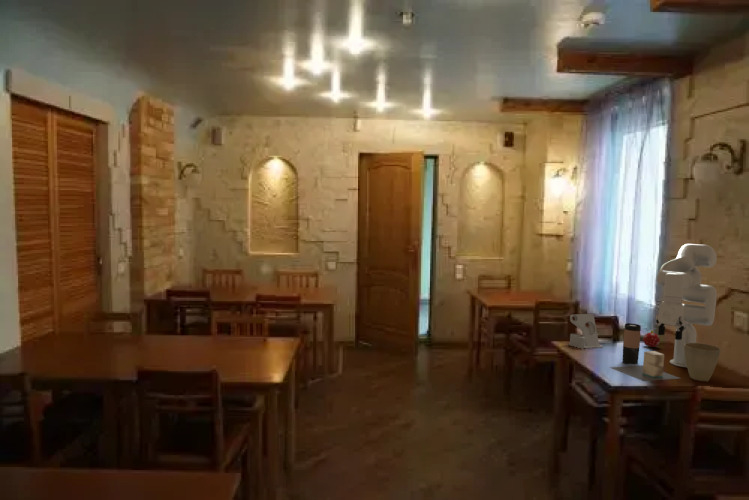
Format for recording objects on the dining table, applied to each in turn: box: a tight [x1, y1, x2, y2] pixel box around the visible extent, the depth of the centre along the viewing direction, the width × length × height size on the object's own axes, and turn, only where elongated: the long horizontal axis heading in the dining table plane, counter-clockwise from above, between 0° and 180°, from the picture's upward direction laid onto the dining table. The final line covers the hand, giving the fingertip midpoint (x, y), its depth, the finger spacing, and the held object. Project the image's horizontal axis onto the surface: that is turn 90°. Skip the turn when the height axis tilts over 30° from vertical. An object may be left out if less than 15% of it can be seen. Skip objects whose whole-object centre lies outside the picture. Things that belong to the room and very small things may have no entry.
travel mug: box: [622, 322, 642, 365], centre depth 289 cm, size 8×8×20 cm
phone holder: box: [568, 313, 603, 349], centre depth 323 cm, size 17×10×18 cm, turn 111°
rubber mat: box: [609, 365, 681, 382], centre depth 270 cm, size 22×22×1 cm
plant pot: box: [684, 342, 722, 382], centre depth 263 cm, size 15×15×16 cm
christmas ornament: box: [642, 329, 661, 348], centre depth 327 cm, size 9×9×10 cm
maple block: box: [642, 350, 665, 378], centre depth 265 cm, size 6×6×11 cm
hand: (669, 337), depth 256 cm, fingers open, 9 cm apart
